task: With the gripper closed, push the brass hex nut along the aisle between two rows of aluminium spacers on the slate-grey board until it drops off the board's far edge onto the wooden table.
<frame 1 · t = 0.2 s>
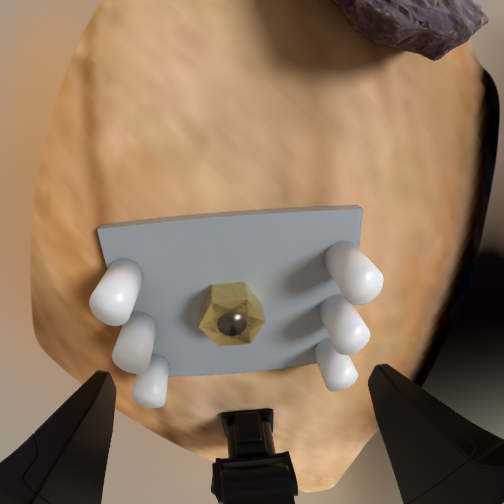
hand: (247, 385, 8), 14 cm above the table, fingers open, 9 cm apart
rock: (375, 17, 15), on the table
nut: (230, 305, 23), point 1 cm above the table, touching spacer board
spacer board: (236, 303, 24), on the table
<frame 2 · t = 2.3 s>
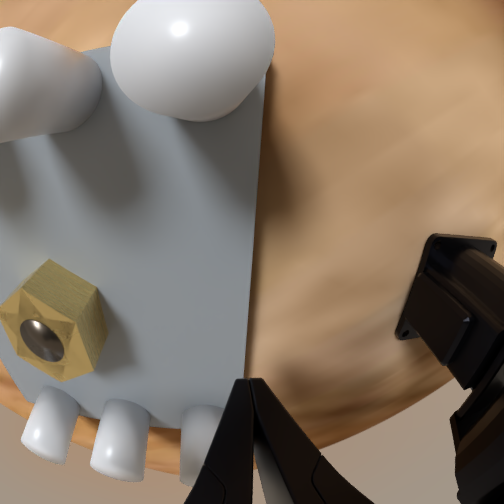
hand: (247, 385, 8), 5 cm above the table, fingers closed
nut: (62, 307, 11), point 1 cm above the table, touching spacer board
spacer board: (76, 287, 11), on the table
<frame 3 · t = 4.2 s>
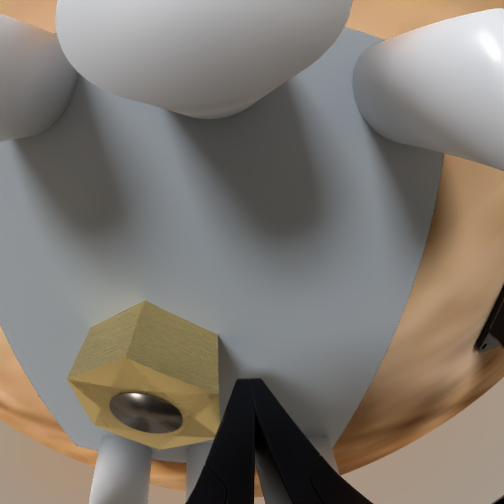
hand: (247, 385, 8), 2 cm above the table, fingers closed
nut: (155, 359, 9), point 1 cm above the table, touching gripper
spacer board: (179, 331, 10), on the table
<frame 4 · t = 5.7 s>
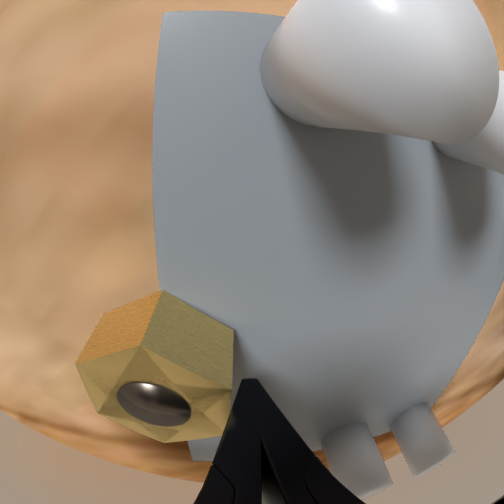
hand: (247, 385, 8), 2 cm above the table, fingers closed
nut: (167, 350, 9), point 1 cm above the table, tilted 5°, touching gripper, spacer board
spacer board: (371, 319, 11), on the table
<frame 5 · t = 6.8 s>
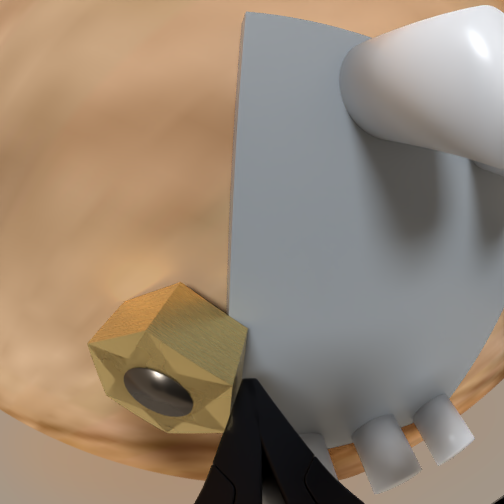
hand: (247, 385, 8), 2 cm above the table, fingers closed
nut: (183, 343, 9), point 1 cm above the table, tilted 16°, touching gripper, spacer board
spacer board: (407, 314, 11), on the table
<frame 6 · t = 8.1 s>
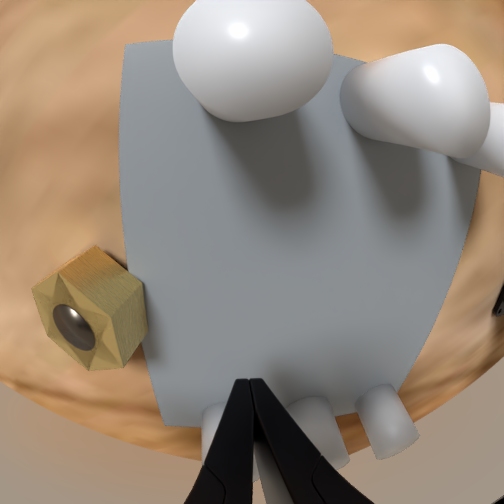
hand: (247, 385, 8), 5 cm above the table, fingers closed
nut: (103, 297, 11), point 1 cm above the table, tilted 15°, touching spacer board
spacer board: (314, 290, 13), on the table
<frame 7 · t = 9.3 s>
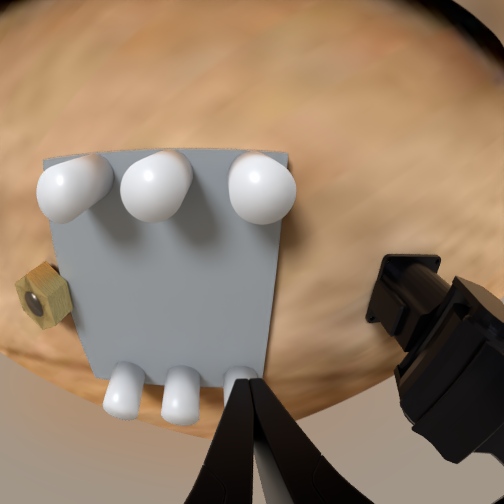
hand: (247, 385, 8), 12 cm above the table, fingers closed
nut: (52, 289, 19), point 1 cm above the table, tilted 15°, touching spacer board
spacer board: (162, 289, 20), on the table
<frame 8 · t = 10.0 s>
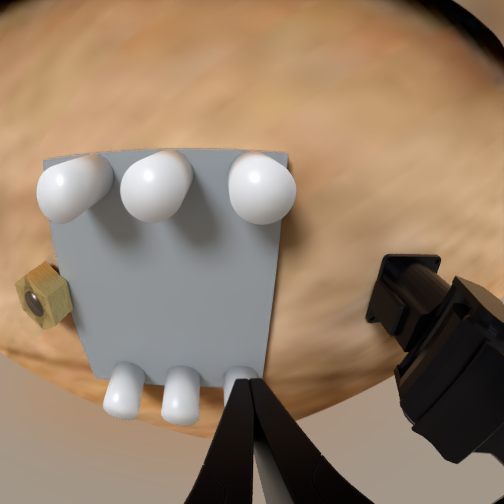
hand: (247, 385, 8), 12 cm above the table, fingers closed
nut: (52, 289, 19), point 1 cm above the table, tilted 15°, touching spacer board
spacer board: (162, 289, 20), on the table
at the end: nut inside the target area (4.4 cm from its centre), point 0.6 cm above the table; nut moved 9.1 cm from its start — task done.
